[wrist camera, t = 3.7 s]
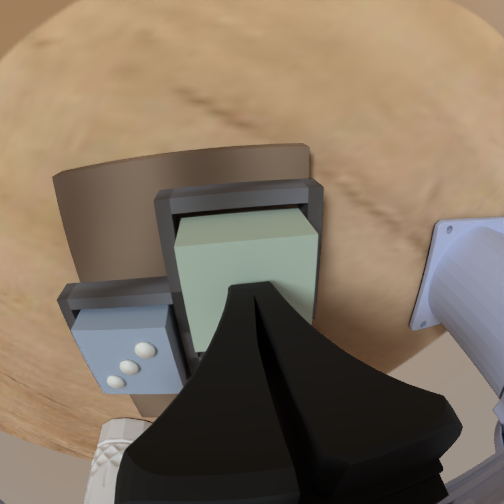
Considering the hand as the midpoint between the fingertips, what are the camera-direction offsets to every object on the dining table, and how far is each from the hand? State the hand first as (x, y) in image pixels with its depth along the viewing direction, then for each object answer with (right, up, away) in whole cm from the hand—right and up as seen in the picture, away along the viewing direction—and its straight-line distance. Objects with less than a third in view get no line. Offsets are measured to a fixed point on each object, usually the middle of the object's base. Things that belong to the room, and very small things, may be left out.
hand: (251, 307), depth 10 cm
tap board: (-3, -2, +6) cm, 7 cm away
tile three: (-6, -2, +5) cm, 8 cm away
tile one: (0, +1, +3) cm, 3 cm away
